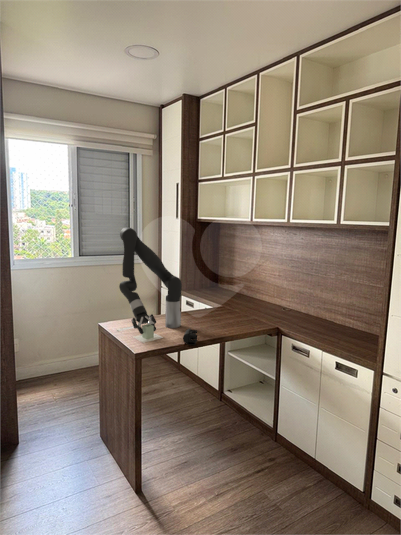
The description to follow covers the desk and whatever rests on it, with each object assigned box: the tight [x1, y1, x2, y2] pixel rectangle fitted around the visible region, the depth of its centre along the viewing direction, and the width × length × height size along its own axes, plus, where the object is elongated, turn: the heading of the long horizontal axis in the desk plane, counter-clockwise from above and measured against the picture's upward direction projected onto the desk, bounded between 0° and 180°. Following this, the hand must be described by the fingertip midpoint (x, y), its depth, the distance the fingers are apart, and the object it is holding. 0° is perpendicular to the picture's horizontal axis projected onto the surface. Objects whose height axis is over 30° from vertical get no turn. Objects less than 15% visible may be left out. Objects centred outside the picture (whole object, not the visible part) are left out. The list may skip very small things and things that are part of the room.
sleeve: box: [141, 323, 155, 339], centre depth 210 cm, size 5×5×7 cm
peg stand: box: [132, 332, 164, 344], centre depth 210 cm, size 14×12×8 cm
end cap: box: [182, 328, 198, 346], centre depth 208 cm, size 10×7×7 cm
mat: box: [116, 325, 135, 332], centre depth 225 cm, size 14×14×1 cm
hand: (148, 332), depth 209 cm, fingers open, 8 cm apart
